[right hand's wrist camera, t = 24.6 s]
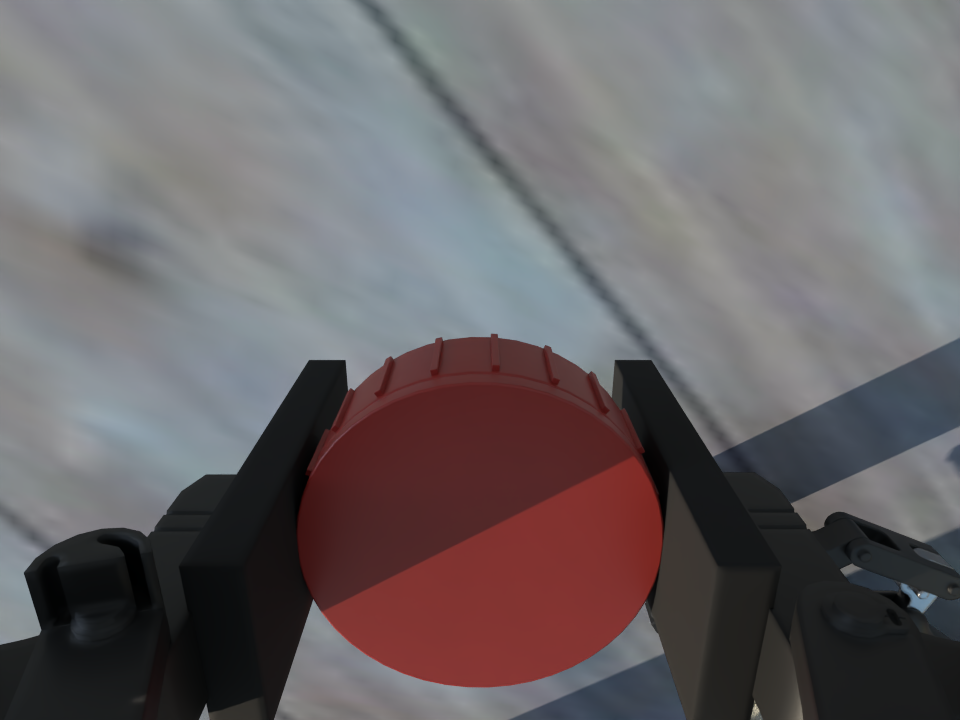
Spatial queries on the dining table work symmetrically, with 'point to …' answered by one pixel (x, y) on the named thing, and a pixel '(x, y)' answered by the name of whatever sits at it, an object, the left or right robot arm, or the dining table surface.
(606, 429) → the lid
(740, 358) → the dining table surface
